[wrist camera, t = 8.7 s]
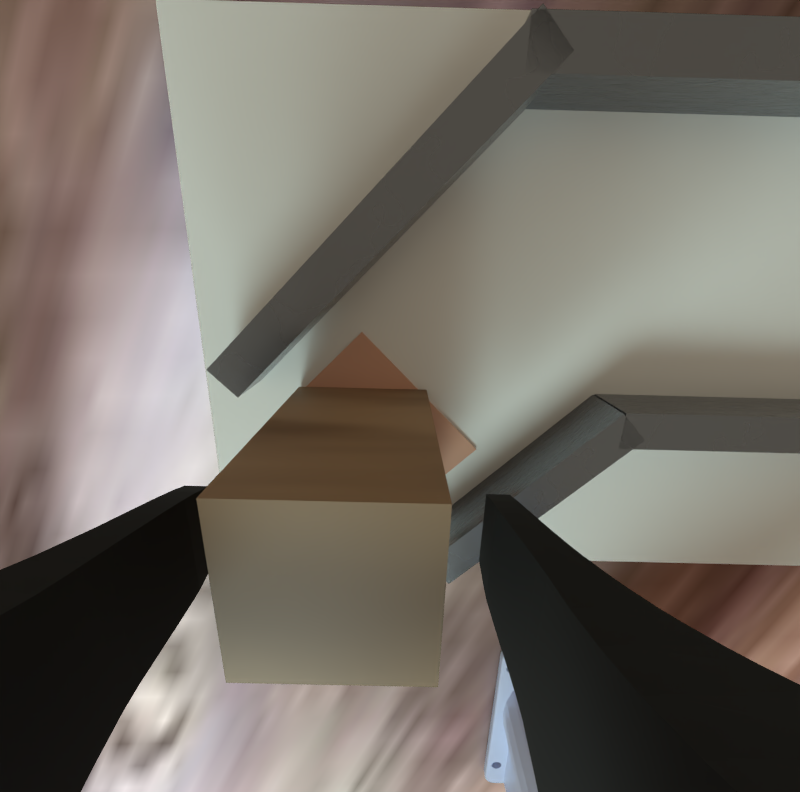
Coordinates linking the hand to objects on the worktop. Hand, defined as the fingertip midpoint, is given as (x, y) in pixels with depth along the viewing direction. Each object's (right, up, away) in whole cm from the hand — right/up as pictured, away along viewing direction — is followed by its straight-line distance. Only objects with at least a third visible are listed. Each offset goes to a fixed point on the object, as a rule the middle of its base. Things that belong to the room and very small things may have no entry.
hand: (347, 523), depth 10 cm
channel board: (+8, +5, +4) cm, 10 cm away
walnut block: (0, +1, +4) cm, 4 cm away
